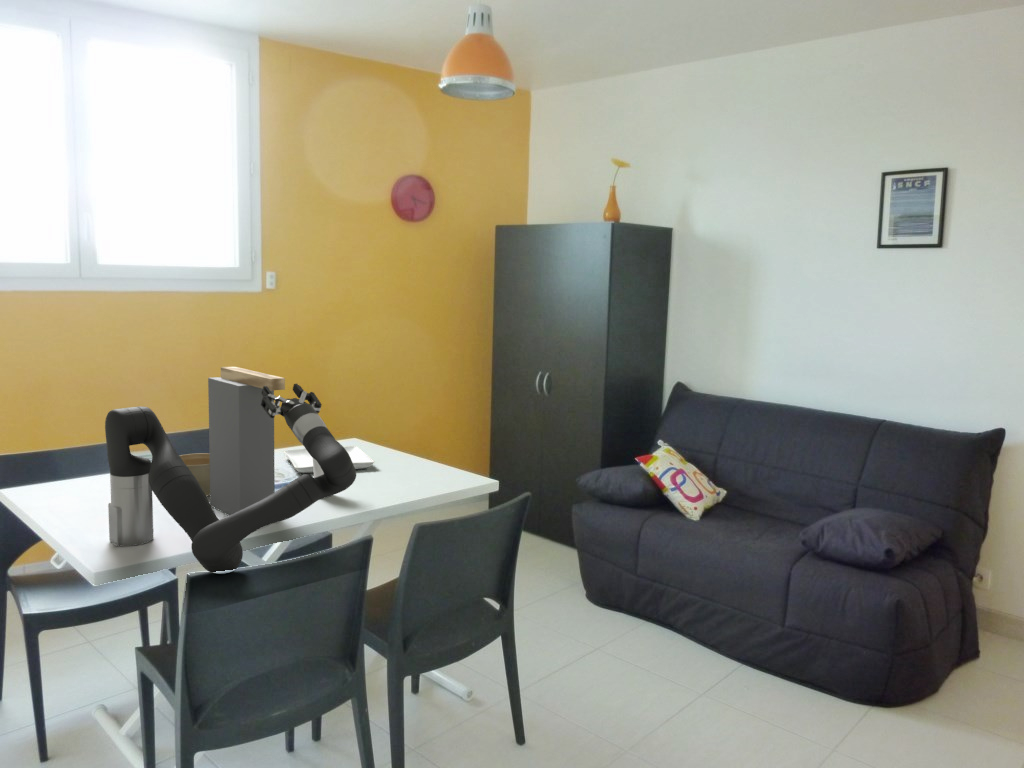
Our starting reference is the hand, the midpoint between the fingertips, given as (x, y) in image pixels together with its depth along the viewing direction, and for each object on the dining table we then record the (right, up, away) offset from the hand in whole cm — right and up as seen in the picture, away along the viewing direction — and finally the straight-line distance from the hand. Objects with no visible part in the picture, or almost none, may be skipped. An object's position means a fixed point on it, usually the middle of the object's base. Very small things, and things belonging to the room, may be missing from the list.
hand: (279, 387), depth 204 cm
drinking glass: (+3, -33, +37) cm, 50 cm away
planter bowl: (-35, -33, +35) cm, 59 cm away
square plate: (-6, -28, +78) cm, 83 cm away
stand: (-16, -35, +20) cm, 43 cm away
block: (-11, +1, +10) cm, 15 cm away
